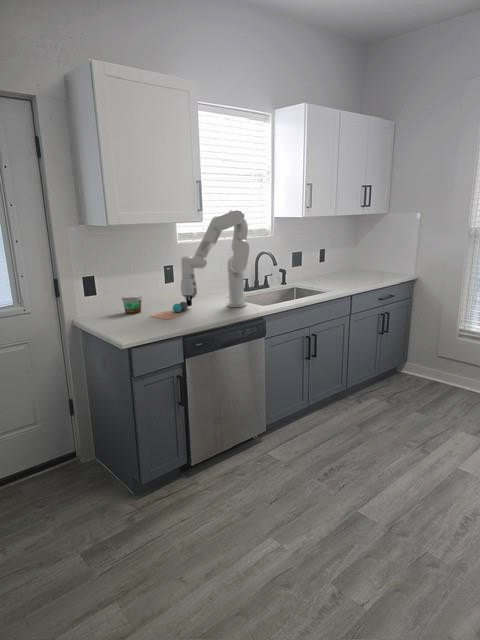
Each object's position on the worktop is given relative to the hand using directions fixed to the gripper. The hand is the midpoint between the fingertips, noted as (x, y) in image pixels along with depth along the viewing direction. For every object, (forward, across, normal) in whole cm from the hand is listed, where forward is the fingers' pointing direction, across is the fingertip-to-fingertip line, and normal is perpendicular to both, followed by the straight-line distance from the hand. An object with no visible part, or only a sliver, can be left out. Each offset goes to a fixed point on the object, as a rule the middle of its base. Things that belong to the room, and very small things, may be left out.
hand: (189, 305), depth 270 cm
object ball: (-1, -1, +12) cm, 12 cm away
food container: (+3, +21, +28) cm, 35 cm away
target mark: (+2, -1, +20) cm, 21 cm away
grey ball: (-1, 0, +6) cm, 6 cm away
